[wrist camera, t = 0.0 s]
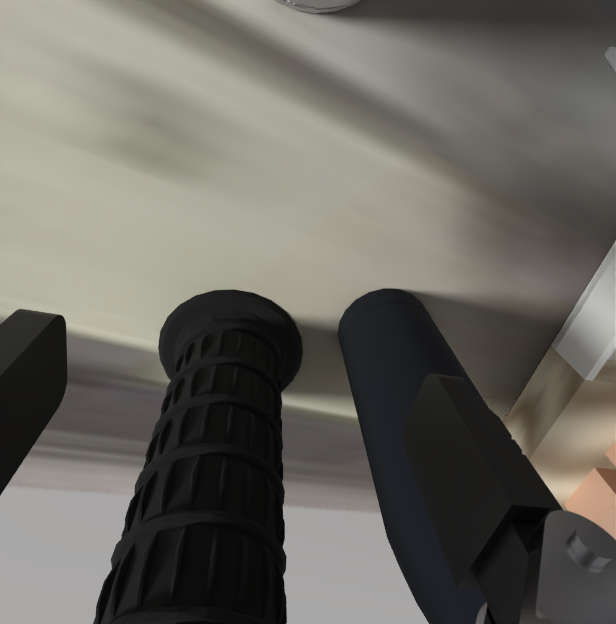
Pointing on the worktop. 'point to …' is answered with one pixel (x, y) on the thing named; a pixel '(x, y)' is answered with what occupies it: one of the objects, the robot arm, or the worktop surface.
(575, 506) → the tile
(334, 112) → the worktop surface
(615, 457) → the tile
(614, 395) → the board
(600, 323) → the tray
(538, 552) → the robot arm
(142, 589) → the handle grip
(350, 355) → the wine bottle
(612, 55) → the chef's knife
